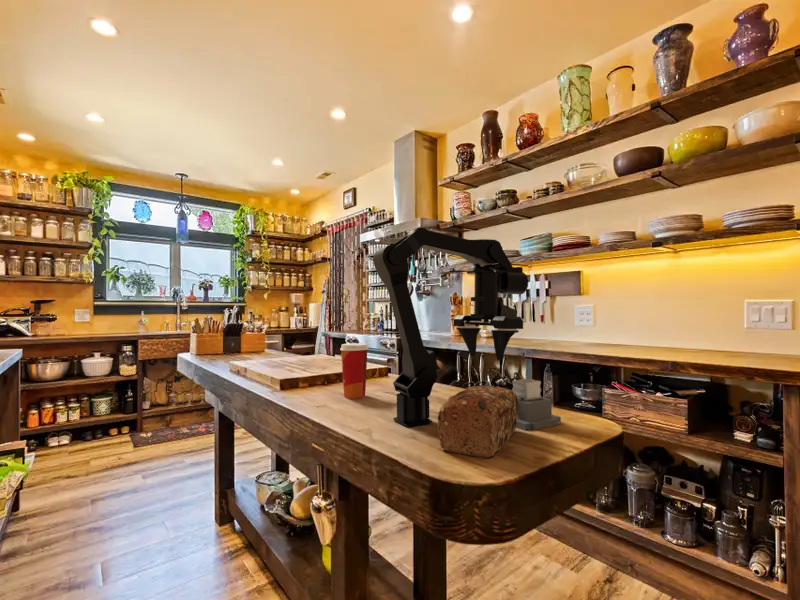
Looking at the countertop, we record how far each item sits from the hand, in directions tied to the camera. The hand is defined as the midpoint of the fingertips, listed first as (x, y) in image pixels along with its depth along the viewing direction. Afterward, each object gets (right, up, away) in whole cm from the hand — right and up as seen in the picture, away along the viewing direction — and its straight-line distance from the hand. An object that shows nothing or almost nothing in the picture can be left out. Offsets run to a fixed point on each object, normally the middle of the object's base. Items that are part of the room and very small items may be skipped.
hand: (485, 357), depth 96 cm
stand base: (+7, -13, -8) cm, 17 cm away
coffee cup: (-34, -14, +19) cm, 41 cm away
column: (+7, -13, -8) cm, 17 cm away
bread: (-5, -13, -20) cm, 24 cm away
